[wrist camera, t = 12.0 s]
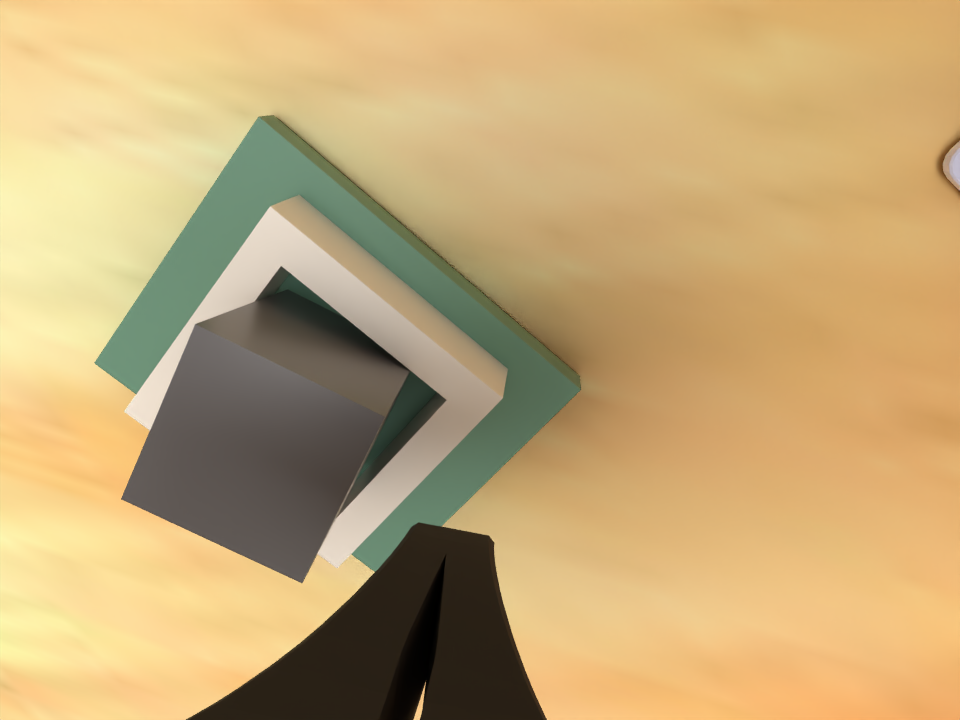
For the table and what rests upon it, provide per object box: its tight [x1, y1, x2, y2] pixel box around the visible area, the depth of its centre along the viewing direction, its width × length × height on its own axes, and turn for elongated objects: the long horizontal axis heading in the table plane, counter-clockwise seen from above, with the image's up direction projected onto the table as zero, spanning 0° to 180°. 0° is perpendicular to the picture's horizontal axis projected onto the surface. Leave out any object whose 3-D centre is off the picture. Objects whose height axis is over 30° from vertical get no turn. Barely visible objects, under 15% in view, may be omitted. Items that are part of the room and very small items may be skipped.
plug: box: [121, 289, 410, 583], centre depth 17 cm, size 4×6×6 cm
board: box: [95, 115, 581, 572], centre depth 20 cm, size 11×9×1 cm
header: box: [124, 195, 508, 568], centre depth 19 cm, size 7×7×2 cm
